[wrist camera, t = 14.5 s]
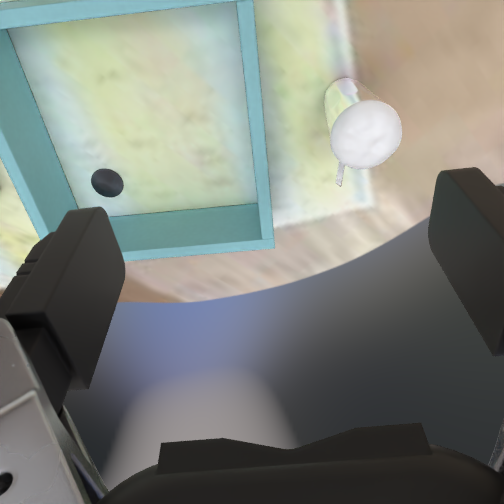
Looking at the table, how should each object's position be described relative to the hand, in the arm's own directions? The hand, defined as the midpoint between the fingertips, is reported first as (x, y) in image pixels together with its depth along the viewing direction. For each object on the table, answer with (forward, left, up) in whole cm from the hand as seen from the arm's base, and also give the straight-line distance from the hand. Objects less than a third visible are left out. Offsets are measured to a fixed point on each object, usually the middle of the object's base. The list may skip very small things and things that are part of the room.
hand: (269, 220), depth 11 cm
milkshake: (+6, +6, -26) cm, 27 cm away
